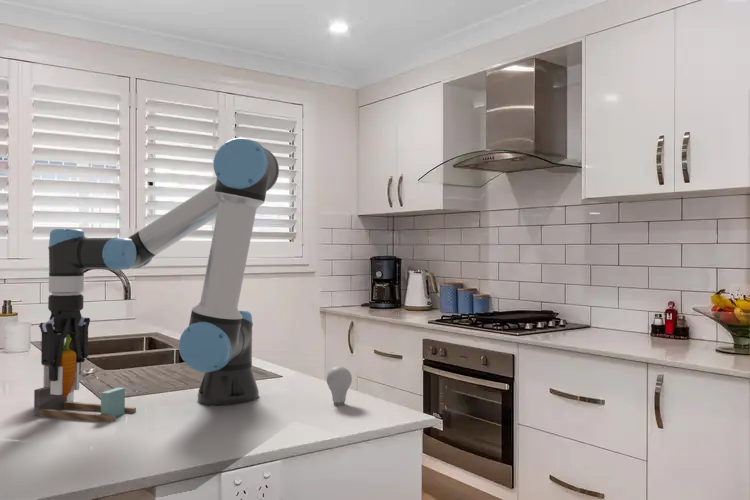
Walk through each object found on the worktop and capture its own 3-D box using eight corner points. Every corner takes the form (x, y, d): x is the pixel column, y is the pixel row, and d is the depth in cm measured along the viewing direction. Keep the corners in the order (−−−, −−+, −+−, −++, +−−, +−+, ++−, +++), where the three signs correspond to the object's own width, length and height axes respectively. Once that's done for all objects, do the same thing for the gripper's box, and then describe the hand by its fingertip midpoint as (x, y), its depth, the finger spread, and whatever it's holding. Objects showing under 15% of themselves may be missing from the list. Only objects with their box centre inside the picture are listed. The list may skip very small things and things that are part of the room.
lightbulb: (340, 407, 157) (340, 363, 157) (356, 412, 152) (357, 366, 152) (321, 411, 152) (321, 366, 152) (337, 416, 148) (338, 369, 148)
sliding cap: (124, 413, 149) (124, 388, 149) (108, 419, 143) (108, 393, 143) (117, 412, 149) (117, 387, 149) (100, 418, 144) (101, 392, 144)
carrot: (60, 401, 147) (61, 336, 147) (48, 398, 149) (49, 335, 149) (80, 397, 151) (81, 334, 151) (68, 394, 154) (69, 332, 153)
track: (135, 414, 149) (136, 388, 149) (111, 423, 141) (111, 396, 141) (61, 406, 156) (62, 382, 156) (34, 415, 147) (34, 389, 147)
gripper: (80, 291, 160) (79, 383, 160) (22, 295, 143) (21, 398, 143) (105, 292, 157) (104, 385, 157) (49, 296, 140) (48, 401, 140)
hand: (65, 391), depth 150 cm, fingers closed on carrot, 5 cm apart
